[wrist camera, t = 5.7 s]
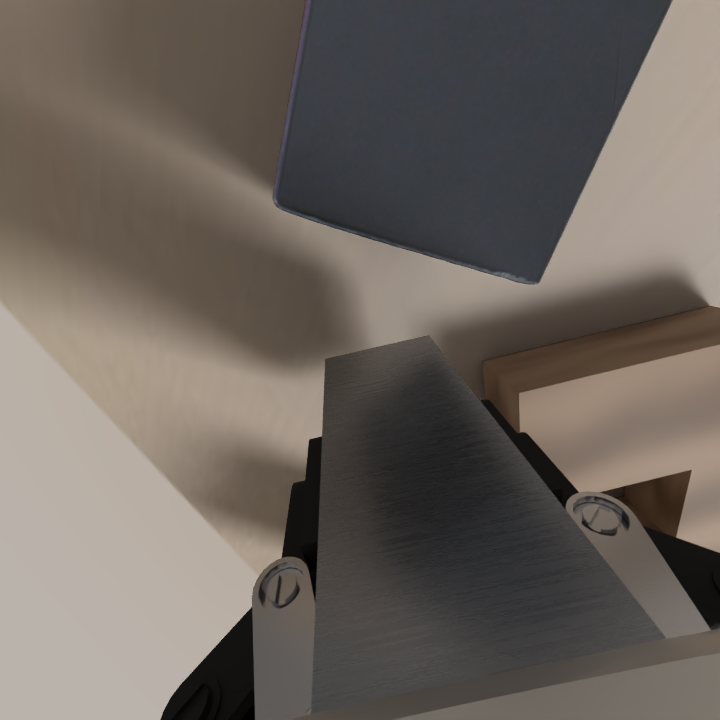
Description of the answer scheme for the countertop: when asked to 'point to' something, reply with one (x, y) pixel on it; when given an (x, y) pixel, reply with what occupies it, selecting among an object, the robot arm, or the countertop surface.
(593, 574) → the square bit
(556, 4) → the small box
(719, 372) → the socket block
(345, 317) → the countertop surface
